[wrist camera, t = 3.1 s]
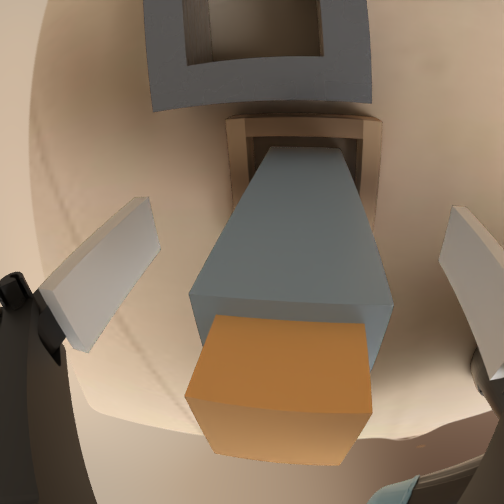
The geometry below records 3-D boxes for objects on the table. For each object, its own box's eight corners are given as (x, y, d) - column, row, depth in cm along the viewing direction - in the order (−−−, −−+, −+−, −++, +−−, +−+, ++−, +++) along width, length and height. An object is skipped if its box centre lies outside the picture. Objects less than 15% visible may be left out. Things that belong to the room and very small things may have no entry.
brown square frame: (364, 240, 19) (368, 257, 17) (244, 235, 20) (238, 251, 18) (374, 117, 14) (382, 121, 13) (234, 115, 16) (225, 119, 14)
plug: (336, 210, 18) (354, 470, 6) (273, 208, 19) (199, 455, 6) (339, 148, 16) (412, 396, 3) (270, 146, 17) (148, 373, 4)
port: (357, 98, 14) (371, 103, 11) (184, 104, 16) (153, 112, 13) (344, -52, 9) (351, -81, 5) (174, -36, 11) (142, -55, 7)
